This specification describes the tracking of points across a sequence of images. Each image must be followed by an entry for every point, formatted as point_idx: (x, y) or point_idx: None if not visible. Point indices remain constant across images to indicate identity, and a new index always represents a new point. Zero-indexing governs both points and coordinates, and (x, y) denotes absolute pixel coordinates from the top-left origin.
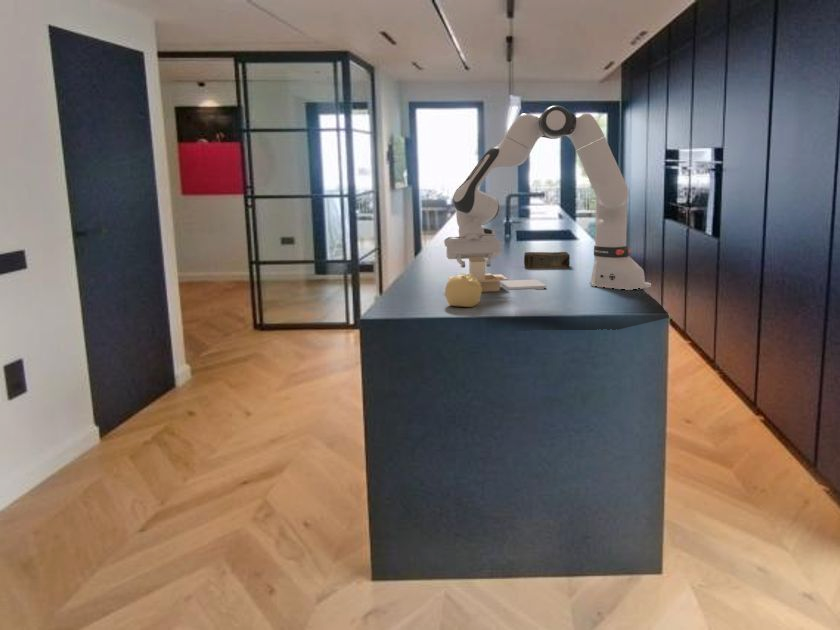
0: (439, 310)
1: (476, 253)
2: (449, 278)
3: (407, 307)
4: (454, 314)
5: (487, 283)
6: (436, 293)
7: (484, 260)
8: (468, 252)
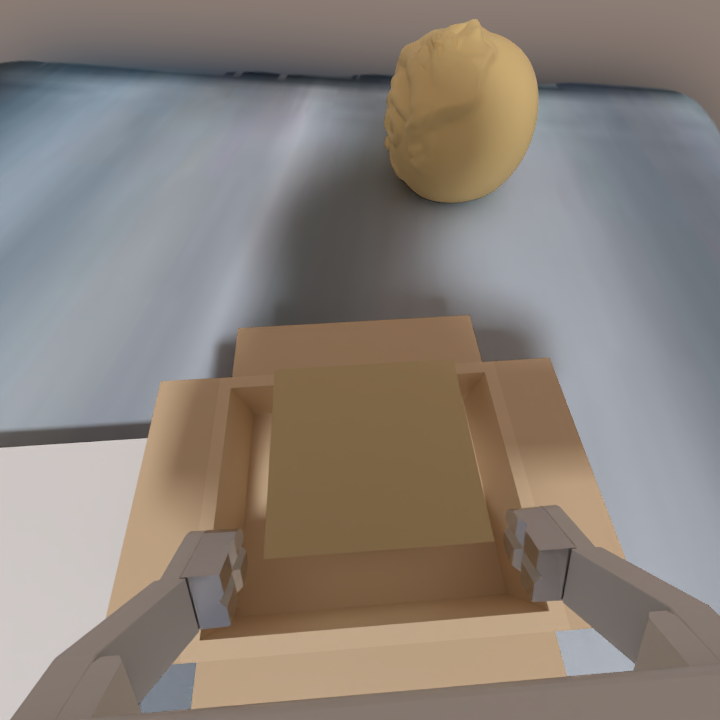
0: None
1: (361, 696)
2: (597, 487)
3: (638, 180)
4: None
5: None
6: (609, 419)
7: (289, 375)
8: (558, 700)
